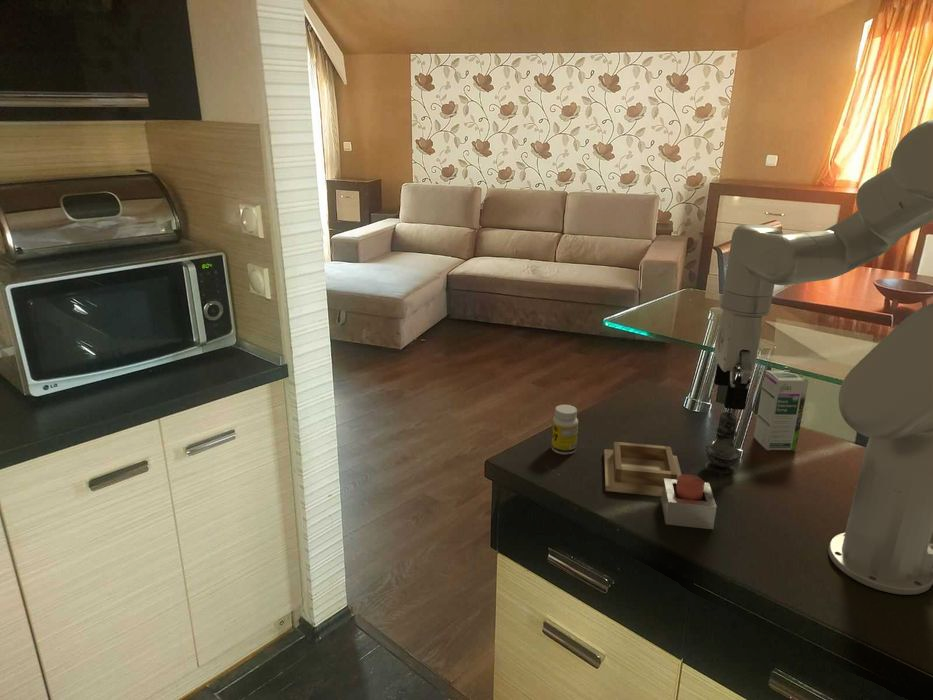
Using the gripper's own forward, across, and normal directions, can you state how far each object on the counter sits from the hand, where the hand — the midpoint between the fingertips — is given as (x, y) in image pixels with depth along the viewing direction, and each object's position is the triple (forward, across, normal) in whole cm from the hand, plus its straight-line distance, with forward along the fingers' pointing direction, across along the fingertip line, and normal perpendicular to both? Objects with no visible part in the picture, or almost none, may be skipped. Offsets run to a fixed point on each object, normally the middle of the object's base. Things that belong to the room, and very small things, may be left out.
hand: (728, 396), depth 112 cm
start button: (+11, +17, -7) cm, 21 cm away
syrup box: (+14, -11, +13) cm, 22 cm away
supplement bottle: (+15, -1, -27) cm, 31 cm away
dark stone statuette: (+14, +1, +1) cm, 14 cm away
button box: (+14, +17, -7) cm, 23 cm away
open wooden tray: (+14, +6, -13) cm, 20 cm away
